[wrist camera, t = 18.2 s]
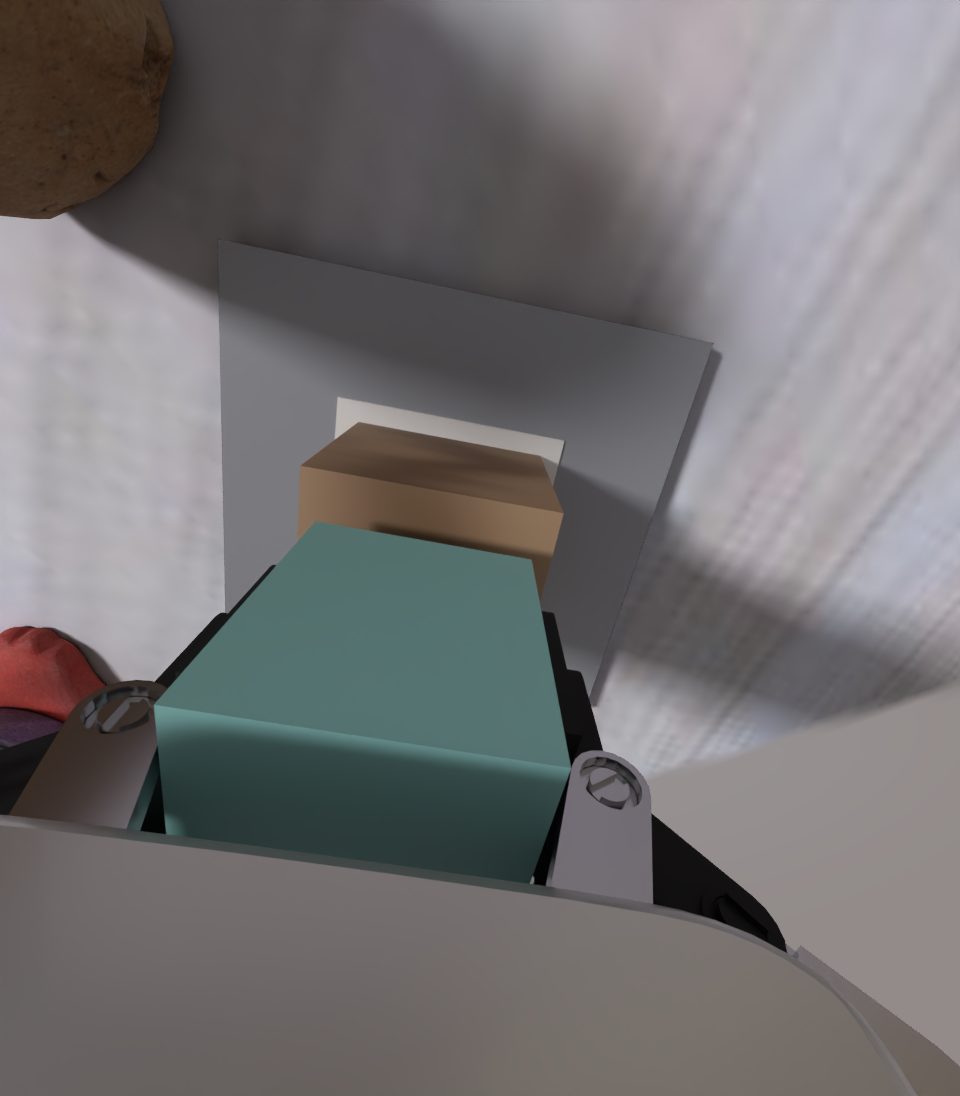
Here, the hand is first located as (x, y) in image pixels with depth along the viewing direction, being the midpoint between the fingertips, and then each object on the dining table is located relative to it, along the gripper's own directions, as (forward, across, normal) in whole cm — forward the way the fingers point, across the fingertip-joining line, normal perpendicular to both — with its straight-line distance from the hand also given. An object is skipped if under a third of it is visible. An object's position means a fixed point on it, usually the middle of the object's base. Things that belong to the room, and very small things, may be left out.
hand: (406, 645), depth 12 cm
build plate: (+9, 0, 0) cm, 9 cm away
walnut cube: (+8, 0, 0) cm, 8 cm away
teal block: (+1, 0, 0) cm, 1 cm away
